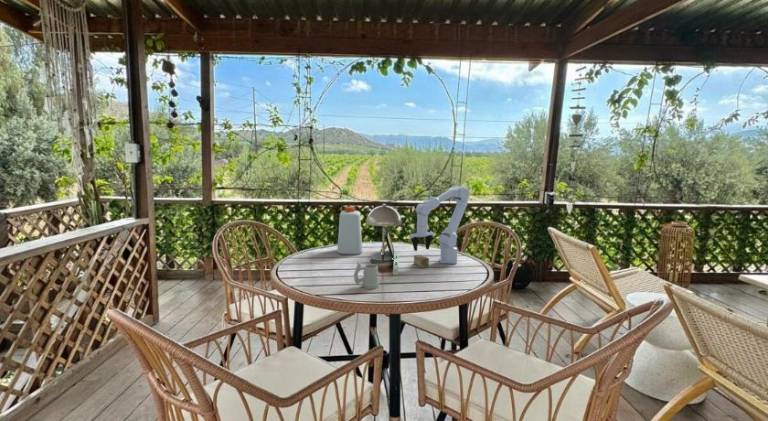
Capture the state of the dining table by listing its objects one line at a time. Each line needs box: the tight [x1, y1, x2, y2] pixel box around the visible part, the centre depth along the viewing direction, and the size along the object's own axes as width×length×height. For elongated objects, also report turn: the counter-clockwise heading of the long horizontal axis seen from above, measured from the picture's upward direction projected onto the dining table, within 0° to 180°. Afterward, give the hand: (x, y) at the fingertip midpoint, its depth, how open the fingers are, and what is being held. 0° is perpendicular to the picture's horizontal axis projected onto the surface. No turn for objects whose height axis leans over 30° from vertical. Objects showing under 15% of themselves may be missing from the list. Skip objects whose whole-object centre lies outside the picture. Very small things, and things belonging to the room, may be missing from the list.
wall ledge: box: [392, 254, 400, 276], centre depth 205 cm, size 2×26×5 cm, turn 177°
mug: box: [353, 261, 380, 290], centre depth 175 cm, size 8×12×12 cm, turn 99°
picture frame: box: [379, 227, 395, 259], centre depth 227 cm, size 23×9×15 cm, turn 179°
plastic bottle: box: [337, 206, 363, 256], centre depth 232 cm, size 15×15×28 cm
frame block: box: [413, 254, 430, 269], centre depth 209 cm, size 5×8×5 cm, turn 27°
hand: (421, 249), depth 208 cm, fingers open, 7 cm apart
